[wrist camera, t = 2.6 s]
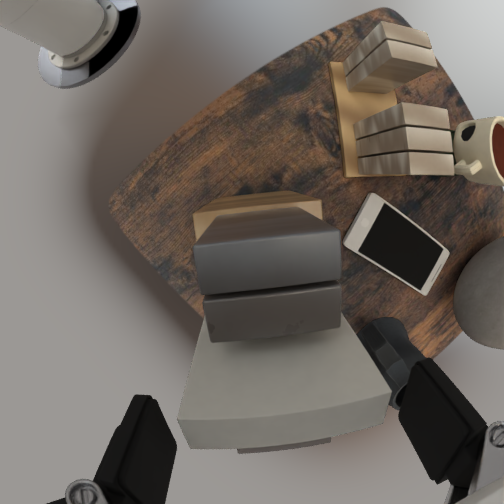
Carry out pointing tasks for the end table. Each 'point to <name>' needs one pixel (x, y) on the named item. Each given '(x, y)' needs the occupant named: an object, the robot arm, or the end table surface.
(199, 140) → the end table surface
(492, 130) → the character mug
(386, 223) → the smartphone
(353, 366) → the grey flat block
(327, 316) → the wooden stand
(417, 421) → the robot arm
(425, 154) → the grey-brown wooden block stand
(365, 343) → the mug
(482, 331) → the grey oval stone
